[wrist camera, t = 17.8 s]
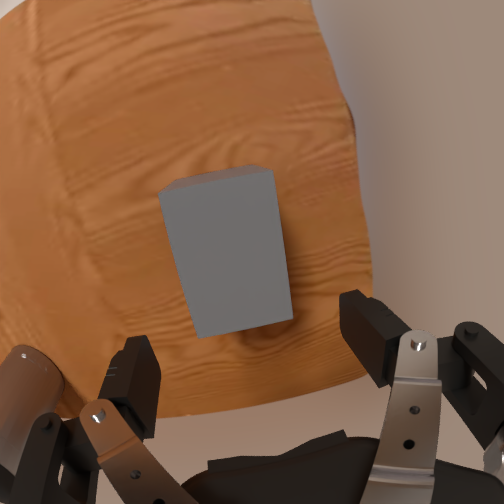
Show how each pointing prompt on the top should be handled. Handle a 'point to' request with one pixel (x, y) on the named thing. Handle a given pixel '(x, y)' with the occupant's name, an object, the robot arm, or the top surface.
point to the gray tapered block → (228, 248)
